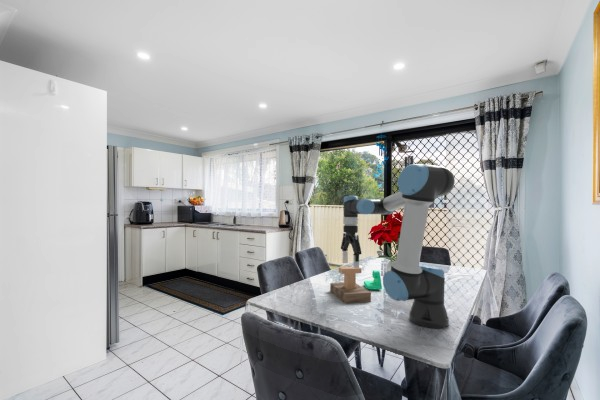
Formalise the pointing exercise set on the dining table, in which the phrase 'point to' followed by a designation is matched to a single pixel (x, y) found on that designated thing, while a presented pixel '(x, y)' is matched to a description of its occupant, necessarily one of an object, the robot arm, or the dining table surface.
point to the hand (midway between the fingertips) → (350, 265)
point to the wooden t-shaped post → (349, 276)
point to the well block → (350, 293)
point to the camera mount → (376, 283)
